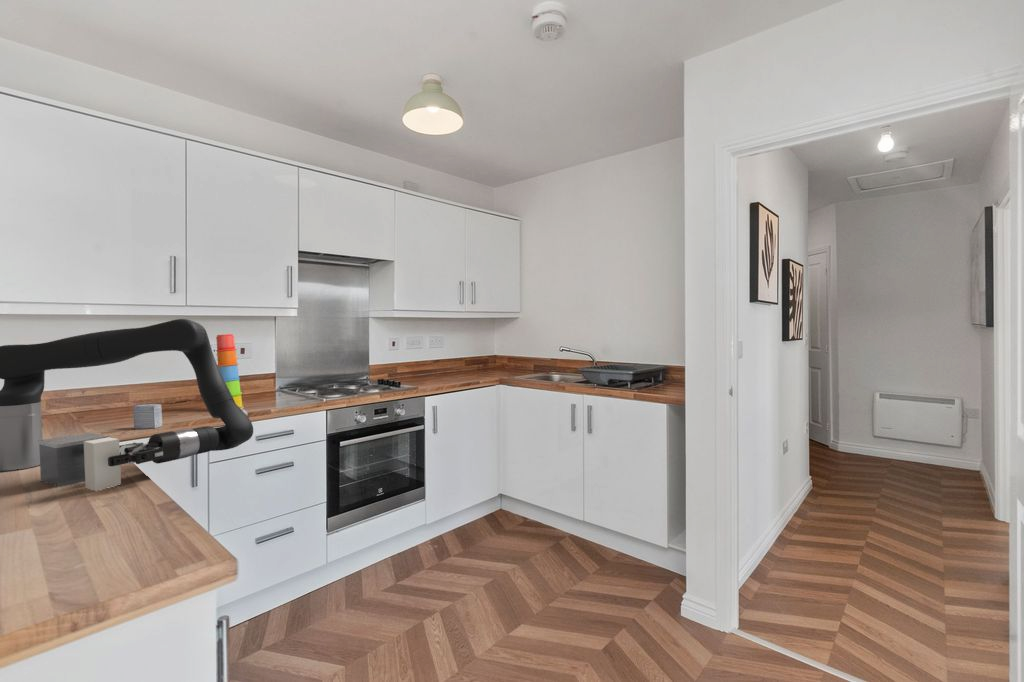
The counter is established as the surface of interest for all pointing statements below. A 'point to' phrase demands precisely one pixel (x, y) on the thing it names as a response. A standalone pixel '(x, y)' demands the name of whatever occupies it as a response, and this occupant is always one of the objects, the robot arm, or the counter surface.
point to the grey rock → (243, 410)
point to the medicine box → (147, 416)
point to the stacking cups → (229, 365)
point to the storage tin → (64, 458)
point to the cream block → (101, 463)
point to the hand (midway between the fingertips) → (100, 459)
